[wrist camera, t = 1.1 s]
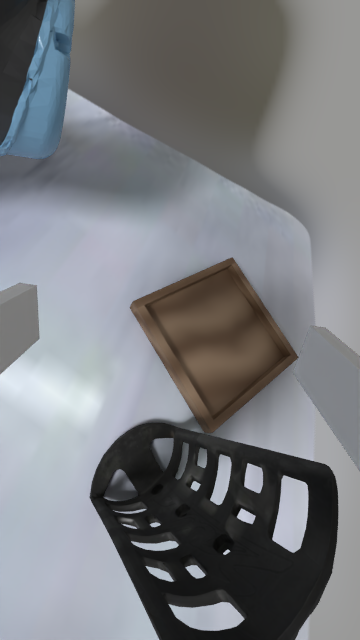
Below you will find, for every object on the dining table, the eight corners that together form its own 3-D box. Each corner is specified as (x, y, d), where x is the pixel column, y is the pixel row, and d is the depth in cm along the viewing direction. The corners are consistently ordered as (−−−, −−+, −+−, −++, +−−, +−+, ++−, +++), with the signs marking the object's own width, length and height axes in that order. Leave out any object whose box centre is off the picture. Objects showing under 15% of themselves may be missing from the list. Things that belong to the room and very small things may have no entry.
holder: (156, 400, 31) (290, 404, 14) (195, 449, 32) (370, 513, 14) (74, 479, 26) (125, 645, 9) (122, 537, 26) (261, 807, 9)
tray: (129, 307, 34) (133, 301, 33) (225, 263, 43) (232, 257, 41) (204, 432, 33) (212, 432, 31) (288, 360, 41) (298, 357, 40)
